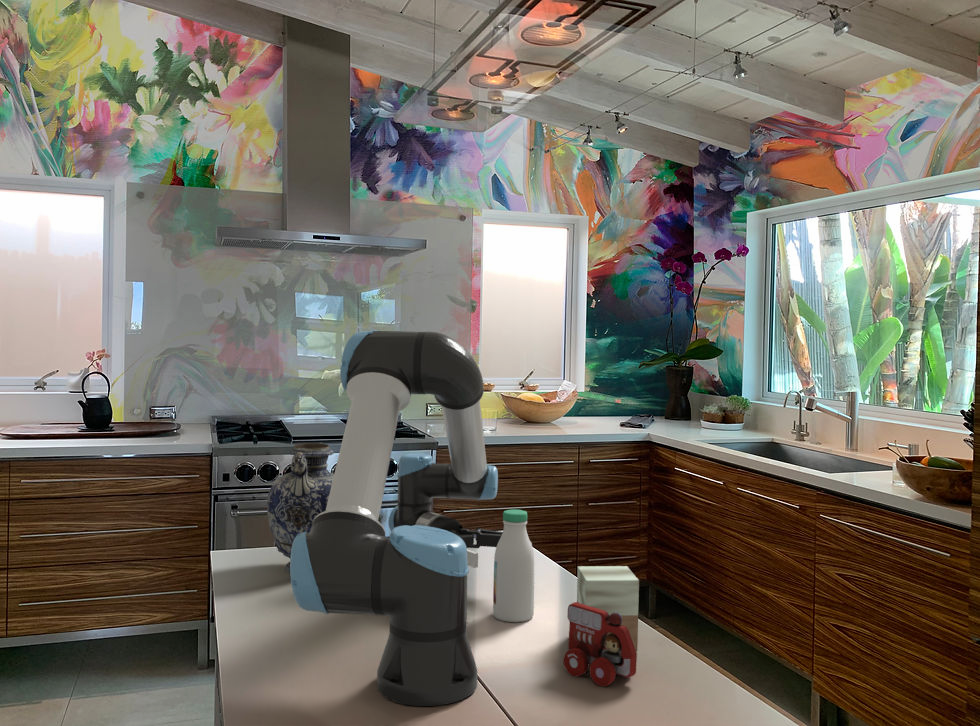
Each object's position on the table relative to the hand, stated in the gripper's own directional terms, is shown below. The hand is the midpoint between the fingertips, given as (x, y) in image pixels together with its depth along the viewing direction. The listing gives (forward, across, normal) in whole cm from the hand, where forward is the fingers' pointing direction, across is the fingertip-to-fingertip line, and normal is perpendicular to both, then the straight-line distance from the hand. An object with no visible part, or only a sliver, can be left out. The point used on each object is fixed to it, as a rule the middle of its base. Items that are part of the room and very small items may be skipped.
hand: (504, 554), depth 157 cm
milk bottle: (+4, +1, -11) cm, 12 cm away
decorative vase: (-47, +17, -11) cm, 52 cm away
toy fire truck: (+32, +7, -11) cm, 35 cm away
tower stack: (+23, -4, -11) cm, 26 cm away
